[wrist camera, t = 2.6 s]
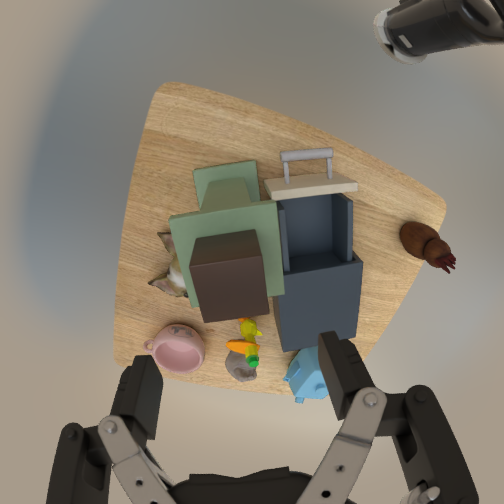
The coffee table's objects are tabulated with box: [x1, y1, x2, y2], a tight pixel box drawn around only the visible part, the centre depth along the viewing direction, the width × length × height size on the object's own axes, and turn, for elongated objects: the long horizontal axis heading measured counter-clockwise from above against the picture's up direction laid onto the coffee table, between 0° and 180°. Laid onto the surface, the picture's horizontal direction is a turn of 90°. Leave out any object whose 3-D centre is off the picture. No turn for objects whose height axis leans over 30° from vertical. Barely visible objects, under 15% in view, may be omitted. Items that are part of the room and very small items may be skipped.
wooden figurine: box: [400, 222, 456, 274], centre depth 40 cm, size 7×6×15 cm
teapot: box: [283, 346, 329, 403], centre depth 53 cm, size 18×14×10 cm
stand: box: [168, 160, 285, 308], centre depth 32 cm, size 9×9×22 cm
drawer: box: [263, 148, 358, 273], centre depth 39 cm, size 18×11×8 cm, turn 7°
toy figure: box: [226, 317, 263, 367], centre depth 46 cm, size 7×4×12 cm, turn 72°
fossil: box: [225, 350, 257, 382], centre depth 50 cm, size 6×4×10 cm, turn 97°
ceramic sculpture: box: [148, 232, 189, 297], centre depth 43 cm, size 11×9×15 cm
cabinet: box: [272, 250, 363, 352], centre depth 45 cm, size 15×13×10 cm
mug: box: [143, 324, 205, 374], centre depth 50 cm, size 12×10×6 cm
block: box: [189, 229, 269, 323], centre depth 20 cm, size 4×4×4 cm
